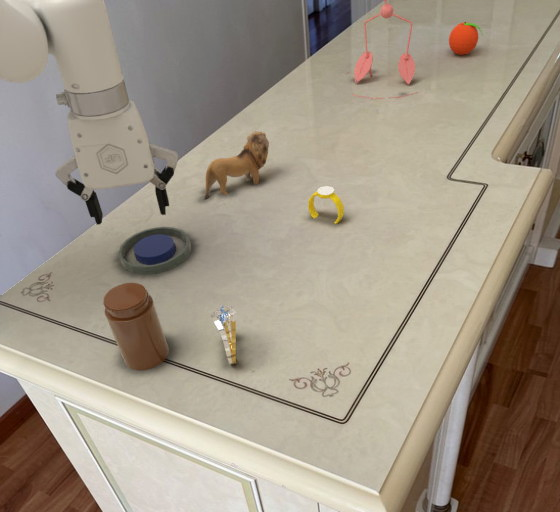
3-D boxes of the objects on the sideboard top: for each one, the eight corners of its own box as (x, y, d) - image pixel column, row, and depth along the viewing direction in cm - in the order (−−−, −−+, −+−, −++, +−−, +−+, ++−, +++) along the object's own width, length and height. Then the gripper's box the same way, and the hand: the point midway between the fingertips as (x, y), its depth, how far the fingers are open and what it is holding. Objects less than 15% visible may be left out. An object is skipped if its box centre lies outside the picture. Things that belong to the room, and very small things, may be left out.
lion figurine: (263, 171, 113) (257, 124, 106) (279, 180, 109) (274, 133, 103) (197, 199, 108) (186, 151, 101) (211, 210, 104) (201, 161, 98)
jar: (116, 365, 78) (89, 302, 70) (147, 338, 81) (124, 275, 74) (148, 380, 75) (124, 317, 68) (179, 352, 78) (159, 288, 71)
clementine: (484, 50, 146) (488, 18, 141) (475, 60, 142) (479, 27, 137) (453, 48, 149) (456, 17, 144) (443, 58, 145) (446, 25, 140)
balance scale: (339, 72, 146) (334, -108, 121) (443, 78, 136) (460, -117, 111) (315, 96, 136) (304, -94, 112) (425, 104, 127) (439, -102, 102)
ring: (246, 374, 74) (236, 326, 68) (221, 378, 74) (209, 330, 68) (244, 338, 79) (235, 290, 73) (221, 341, 79) (209, 294, 73)
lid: (128, 260, 95) (124, 250, 94) (157, 240, 98) (154, 230, 97) (156, 271, 92) (153, 261, 90) (185, 250, 95) (182, 240, 94)
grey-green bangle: (108, 266, 95) (103, 254, 93) (157, 231, 101) (154, 220, 99) (157, 286, 90) (154, 274, 88) (206, 249, 96) (203, 237, 94)
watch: (306, 223, 98) (303, 190, 94) (315, 215, 99) (312, 182, 95) (338, 231, 95) (336, 197, 91) (346, 222, 97) (345, 189, 92)
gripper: (27, 118, 74) (72, 236, 86) (164, 99, 75) (189, 219, 87) (36, 97, 79) (76, 211, 91) (164, 79, 80) (187, 195, 92)
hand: (131, 215), depth 89 cm, fingers open, 9 cm apart
